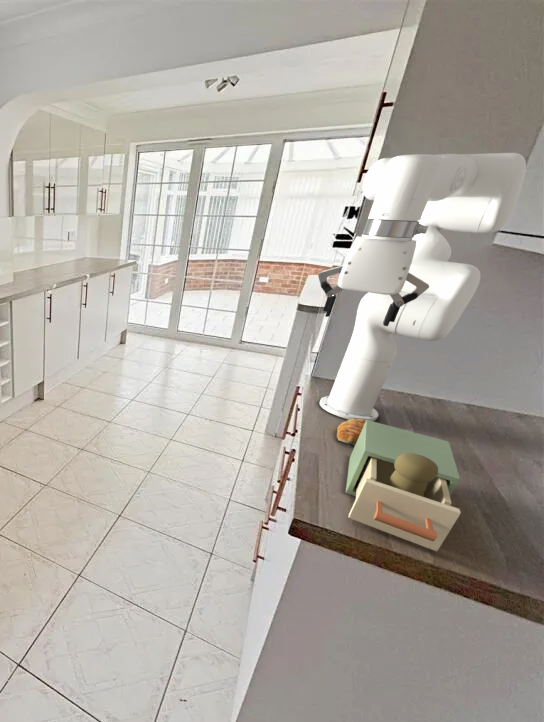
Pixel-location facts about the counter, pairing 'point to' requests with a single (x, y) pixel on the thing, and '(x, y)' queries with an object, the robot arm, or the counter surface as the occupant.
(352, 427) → the pastry
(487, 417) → the counter surface
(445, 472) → the cabinet
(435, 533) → the drawer
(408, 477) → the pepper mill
